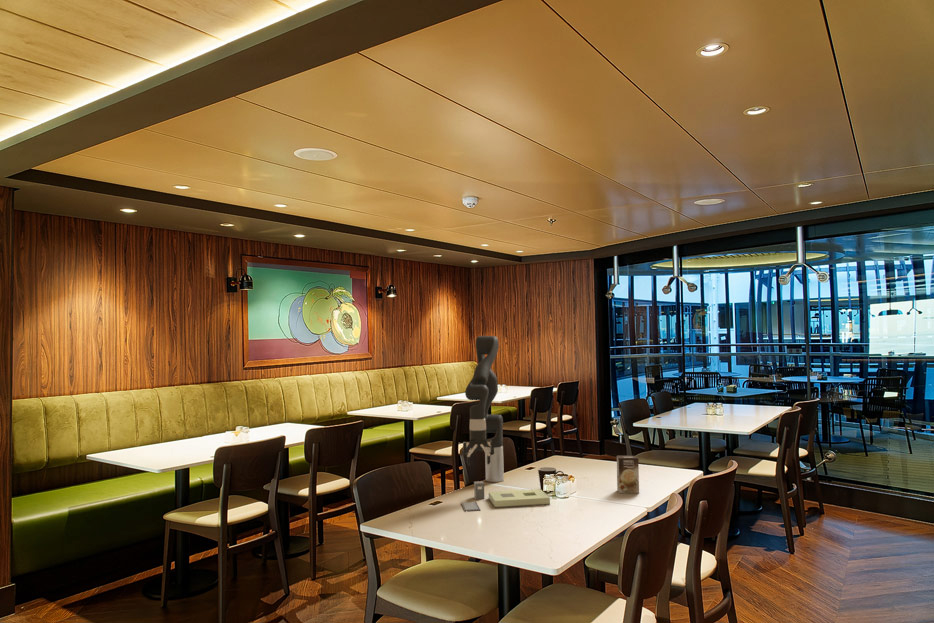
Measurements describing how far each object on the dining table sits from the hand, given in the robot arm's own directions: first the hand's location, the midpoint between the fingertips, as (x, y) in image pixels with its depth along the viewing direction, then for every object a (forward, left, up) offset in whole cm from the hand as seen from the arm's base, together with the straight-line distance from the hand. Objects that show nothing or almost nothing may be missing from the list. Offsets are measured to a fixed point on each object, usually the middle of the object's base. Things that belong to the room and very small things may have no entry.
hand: (478, 464), depth 273 cm
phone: (+14, -6, -16) cm, 22 cm away
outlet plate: (+10, +16, -15) cm, 24 cm away
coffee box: (+4, +69, -15) cm, 71 cm away
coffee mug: (-6, +35, -15) cm, 39 cm away
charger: (0, 0, -15) cm, 15 cm away
